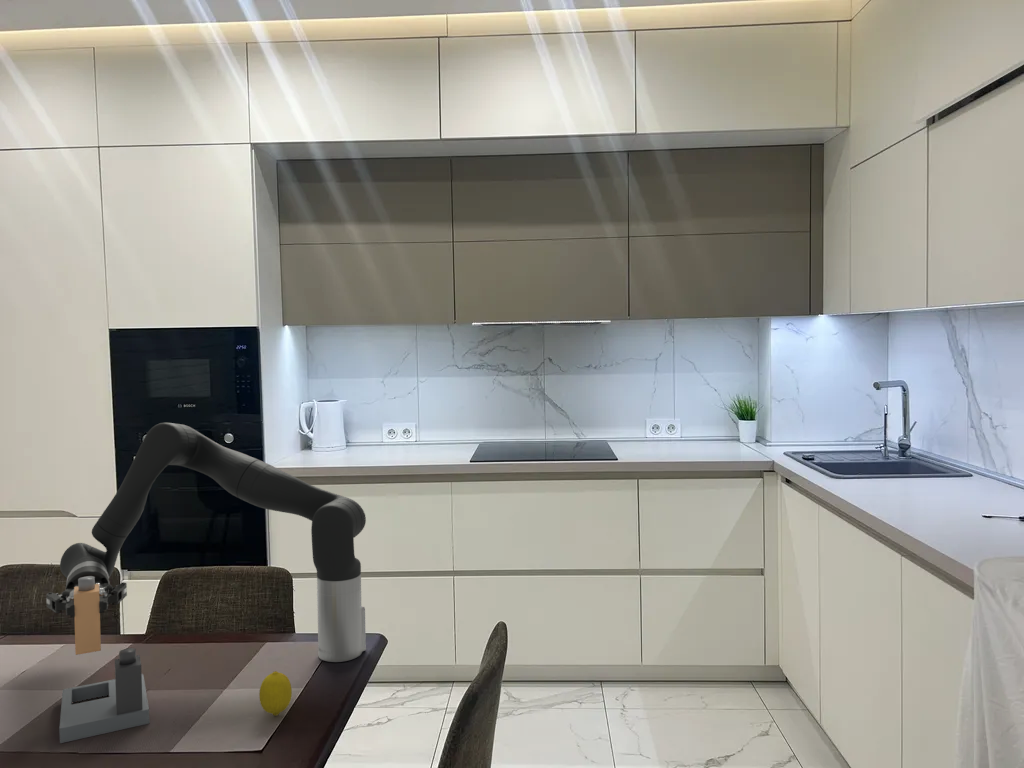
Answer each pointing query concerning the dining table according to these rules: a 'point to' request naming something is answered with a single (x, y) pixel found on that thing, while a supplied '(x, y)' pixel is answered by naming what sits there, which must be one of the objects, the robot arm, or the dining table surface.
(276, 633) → the dining table surface
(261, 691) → the lemon
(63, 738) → the gray post stand
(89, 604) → the plug
